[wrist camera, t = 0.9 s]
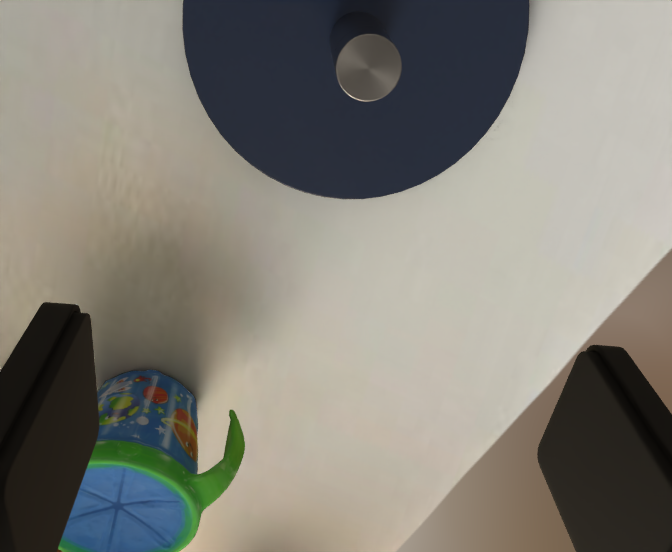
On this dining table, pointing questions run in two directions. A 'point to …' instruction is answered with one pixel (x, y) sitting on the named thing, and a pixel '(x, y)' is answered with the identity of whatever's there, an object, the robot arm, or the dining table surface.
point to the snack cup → (147, 470)
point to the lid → (354, 85)
